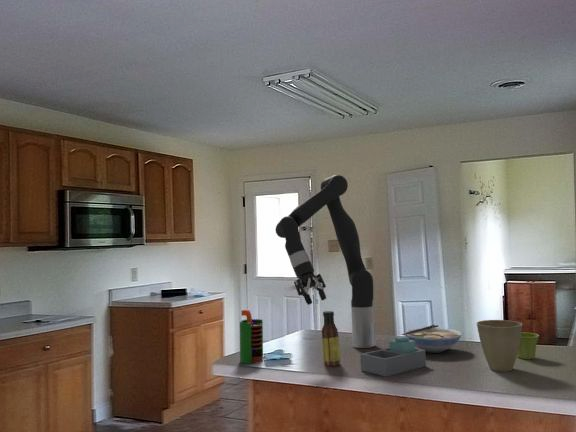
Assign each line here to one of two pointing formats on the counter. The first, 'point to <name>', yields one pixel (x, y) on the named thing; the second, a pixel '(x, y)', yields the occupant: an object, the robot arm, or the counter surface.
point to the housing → (392, 361)
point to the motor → (251, 339)
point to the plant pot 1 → (500, 342)
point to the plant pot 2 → (527, 345)
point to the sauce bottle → (330, 340)
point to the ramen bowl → (433, 338)
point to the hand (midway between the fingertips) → (317, 301)
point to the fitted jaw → (402, 345)
